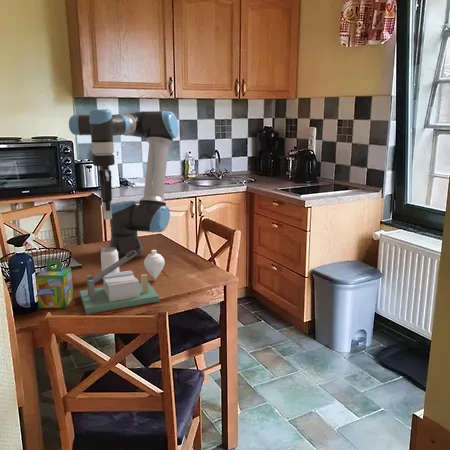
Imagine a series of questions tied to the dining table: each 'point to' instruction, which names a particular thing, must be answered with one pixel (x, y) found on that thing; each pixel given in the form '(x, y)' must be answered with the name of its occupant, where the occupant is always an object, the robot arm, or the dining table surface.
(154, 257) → the spinning top
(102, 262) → the can
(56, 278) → the chalk box
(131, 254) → the strap
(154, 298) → the heatsink board
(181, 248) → the dining table surface
